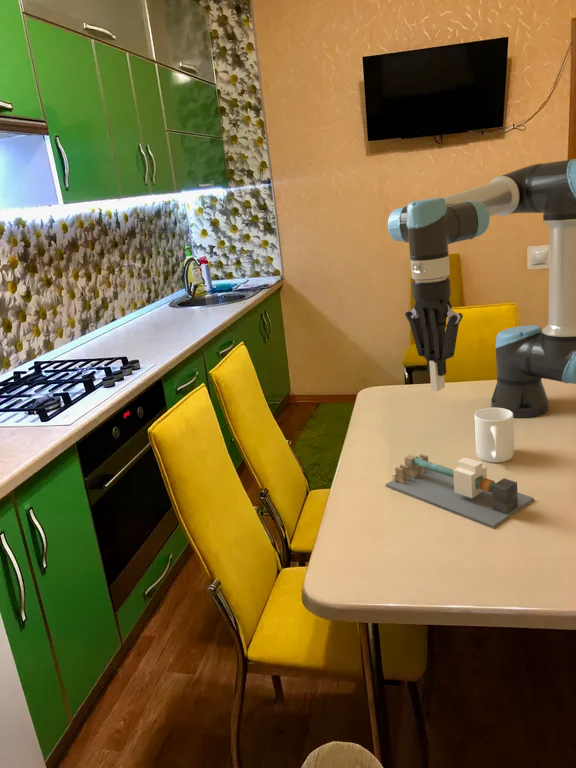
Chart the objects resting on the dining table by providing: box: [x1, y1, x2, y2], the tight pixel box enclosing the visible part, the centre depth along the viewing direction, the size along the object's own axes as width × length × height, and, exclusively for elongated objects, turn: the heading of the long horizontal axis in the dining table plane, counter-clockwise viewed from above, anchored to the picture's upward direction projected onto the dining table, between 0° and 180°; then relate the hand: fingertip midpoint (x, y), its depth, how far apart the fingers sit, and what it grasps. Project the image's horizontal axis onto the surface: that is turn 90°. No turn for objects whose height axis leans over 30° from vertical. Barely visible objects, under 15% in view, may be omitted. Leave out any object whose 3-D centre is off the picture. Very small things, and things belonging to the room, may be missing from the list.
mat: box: [385, 469, 535, 530], centre depth 133 cm, size 14×28×1 cm, turn 38°
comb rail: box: [391, 453, 518, 514], centre depth 132 cm, size 10×27×6 cm, turn 38°
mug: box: [474, 407, 515, 464], centre depth 144 cm, size 9×12×11 cm
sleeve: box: [453, 457, 488, 498], centre depth 128 cm, size 5×4×7 cm
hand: (438, 388), depth 131 cm, fingers closed
